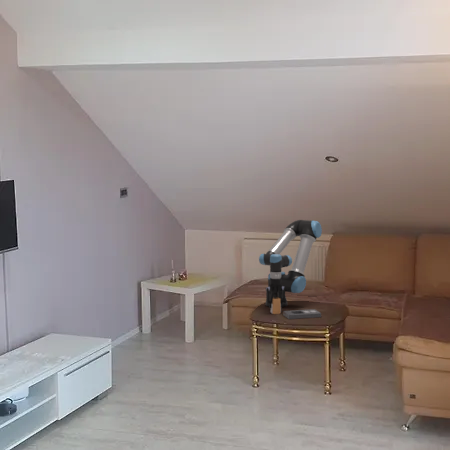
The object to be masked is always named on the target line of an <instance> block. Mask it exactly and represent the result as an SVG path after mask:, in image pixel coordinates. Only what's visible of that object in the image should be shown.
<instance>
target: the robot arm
mask: <svg viewBox="0 0 450 450" xmlns="http://www.w3.org/2000/svg"><path fill="white" fill-rule="evenodd" d="M322 232H323V229H322V225H321V223H320V222H319V221H317V220H310V219H307V220H306V219H297V220H295V221H293V222H291V223H290V224H288V225H287V226H286V227H284V229H283V233H282V234H281V235H280V236H279V237H278V239H277V240H276V242H274V244H273V245H272V246H271V247H270V248H269V249H268V251H267V252H266V253H261V254H260V255H259V257H258V261H259V264H260V265H263V266H269V274H268V276H267V287H265V292H266V297H265V299H266V300H265V306H266V307H269V309H270V313H271V314H272V313H273V304H272V300H273V298H275V297H278V298H280V314H282V308H283V307H287V306H288V299H287V297H286V293H292V294H300V293H302V292H303V291H304V290H305V288H306V285H307V279H306V276H305V274H304V273H305V269H306V265H307V263H308V260H309V257H310V253H311V251H312V246H313V243H315V242H316V241H317V238H320V237H321V236H322ZM298 237H299V238H300V241H299V245H298V247H297V251H296V253H295V257H294V261H293V258H292V257H291V255H286V254H285V255H281V254H282V252H283V251H284V250H285V248H286V247H287V246H288V245H289V244H290V243H291V241H292V240H294V239H295V238H298ZM291 265H292V266H291ZM289 266H291V269H290V270H288V272H287V274H286V272H285V271H282V268H287V267H289Z"/></svg>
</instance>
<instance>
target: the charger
mask: <svg viewBox="0 0 450 450" xmlns="http://www.w3.org/2000/svg"><path fill="white" fill-rule="evenodd" d="M272 304H273V313H271V314H272V315H280V314H281V313H280V298H278V297H275V298H273V300H272Z"/></svg>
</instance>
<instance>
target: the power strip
mask: <svg viewBox="0 0 450 450" xmlns="http://www.w3.org/2000/svg"><path fill="white" fill-rule="evenodd" d="M282 316H283V317H284V318H287V319H288V320H295V319H299V320H300V319H310V318H313V319H315V318H322V312H320V311H319V310H317V309H298V310H294V309H293V310H283V311H282Z"/></svg>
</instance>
